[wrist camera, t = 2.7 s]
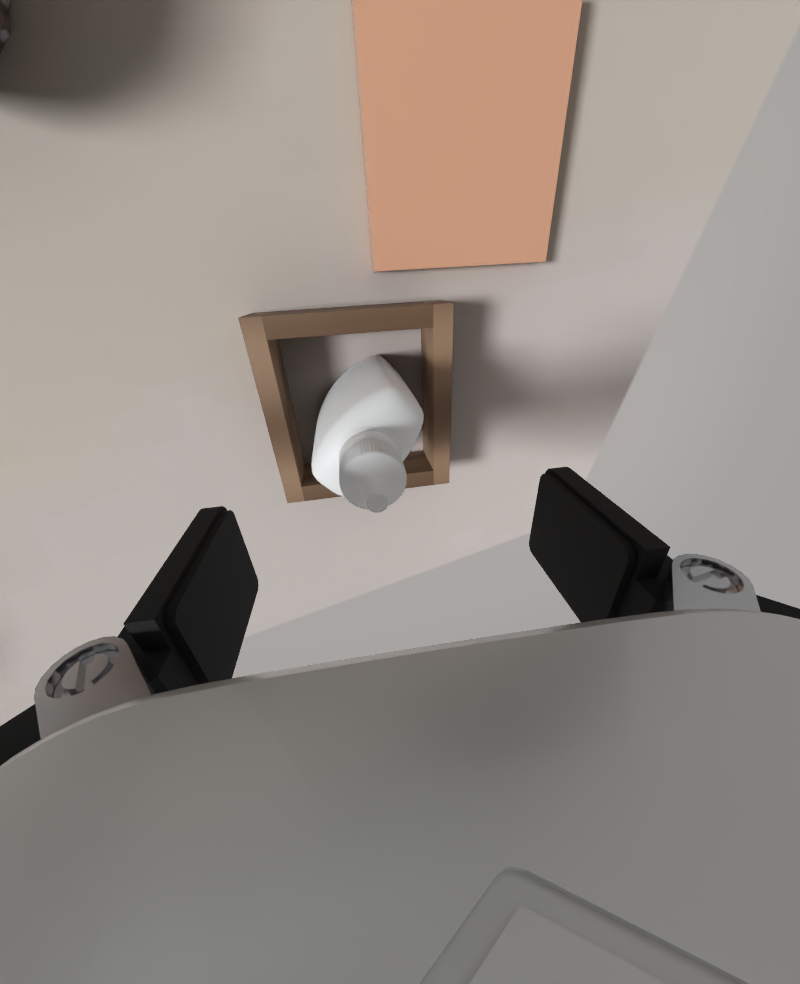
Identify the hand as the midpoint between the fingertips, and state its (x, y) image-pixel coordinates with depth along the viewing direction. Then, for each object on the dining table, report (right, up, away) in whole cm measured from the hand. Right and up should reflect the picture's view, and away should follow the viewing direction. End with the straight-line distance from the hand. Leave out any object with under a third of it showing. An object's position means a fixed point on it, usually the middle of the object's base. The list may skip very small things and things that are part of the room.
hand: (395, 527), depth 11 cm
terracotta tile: (+3, +17, +5) cm, 18 cm away
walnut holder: (-2, +7, +11) cm, 13 cm away
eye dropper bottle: (-2, +7, +11) cm, 13 cm away
